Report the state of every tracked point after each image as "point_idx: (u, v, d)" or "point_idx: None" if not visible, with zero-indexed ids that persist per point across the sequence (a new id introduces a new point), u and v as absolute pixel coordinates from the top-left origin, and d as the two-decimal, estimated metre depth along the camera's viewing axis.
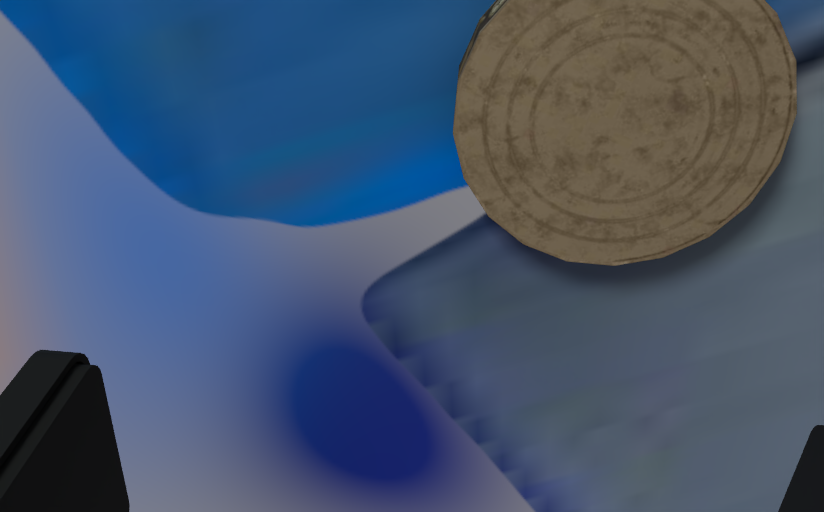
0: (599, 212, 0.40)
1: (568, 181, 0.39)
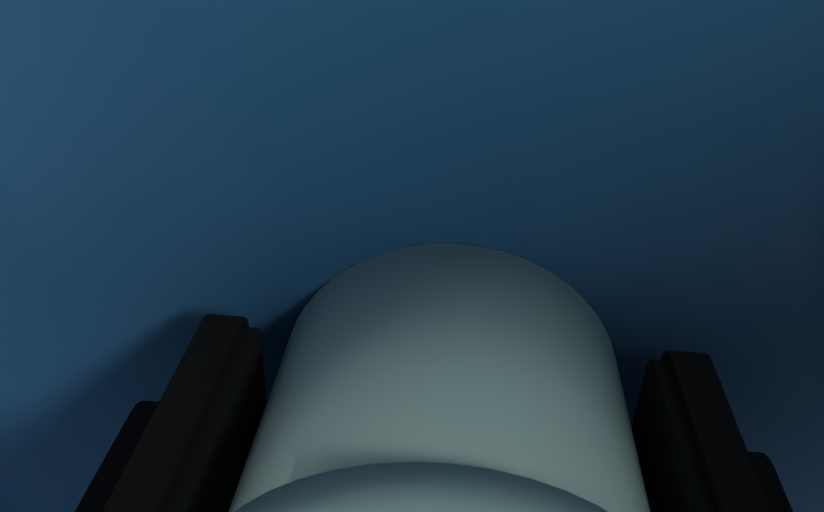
0: None
1: None
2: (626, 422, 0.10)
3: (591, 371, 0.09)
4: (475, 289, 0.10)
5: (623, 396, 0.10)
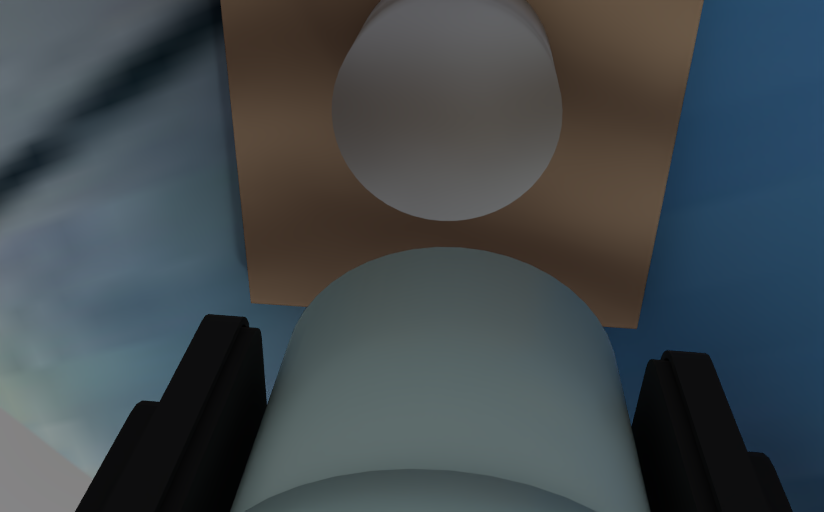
0: None
1: None
2: (627, 427, 0.09)
3: (592, 377, 0.09)
4: (476, 293, 0.10)
5: (624, 401, 0.10)
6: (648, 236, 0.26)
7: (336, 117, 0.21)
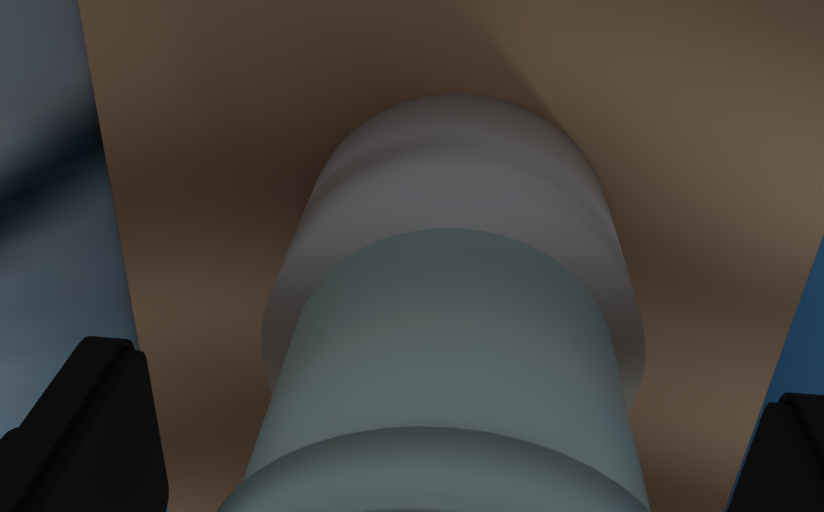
0: None
1: None
2: (621, 397, 0.10)
3: (587, 349, 0.10)
4: (477, 270, 0.10)
5: (618, 374, 0.11)
6: (733, 455, 0.18)
7: (268, 354, 0.13)
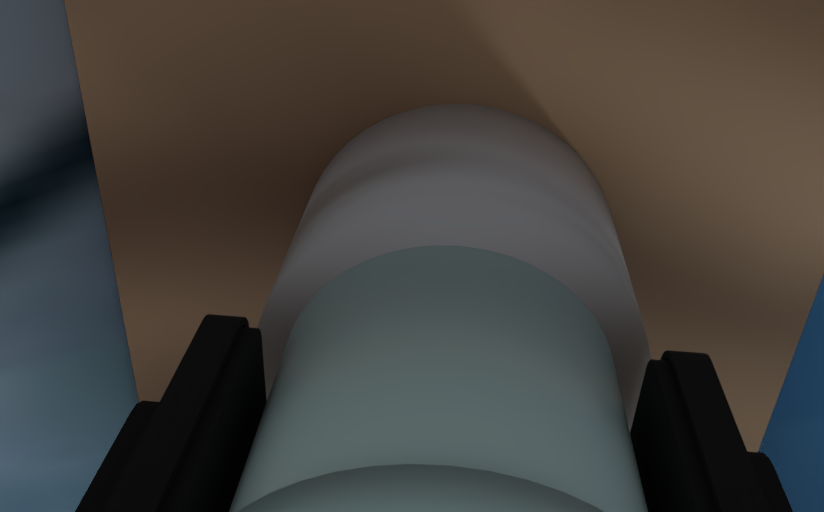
0: None
1: None
2: (624, 423, 0.10)
3: (588, 374, 0.09)
4: (474, 291, 0.10)
5: (621, 397, 0.10)
6: None
7: None
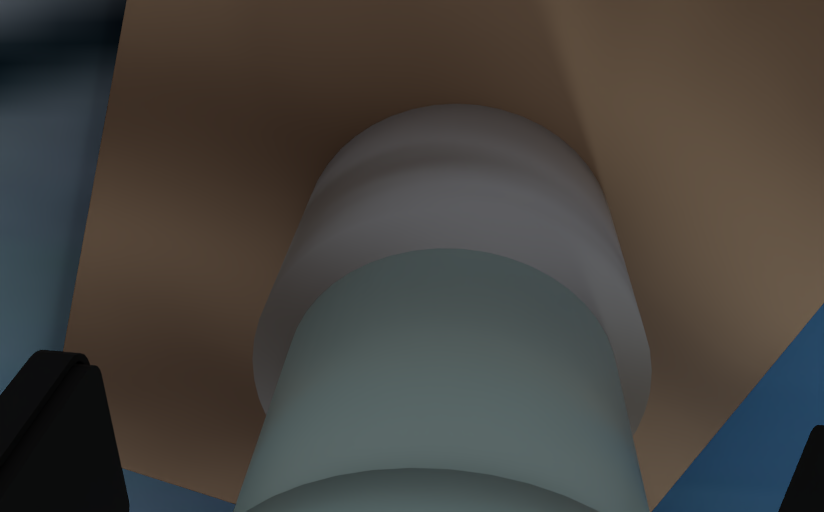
0: None
1: None
2: (560, 362, 0.09)
3: (498, 330, 0.09)
4: (374, 301, 0.10)
5: (569, 335, 0.10)
6: None
7: (265, 327, 0.12)
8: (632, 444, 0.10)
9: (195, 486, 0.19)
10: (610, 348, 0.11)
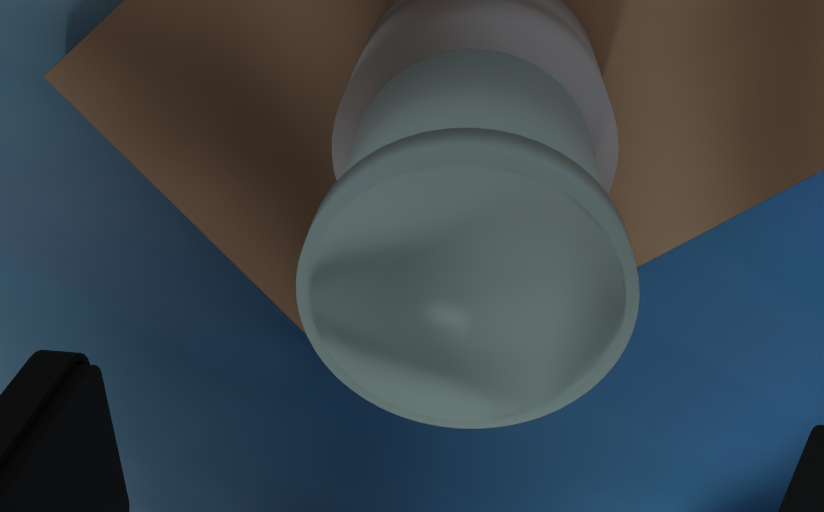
0: None
1: None
2: (509, 89, 0.14)
3: (465, 81, 0.14)
4: (388, 96, 0.15)
5: (520, 78, 0.14)
6: None
7: (382, 55, 0.15)
8: (577, 134, 0.14)
9: (151, 175, 0.22)
10: (568, 94, 0.15)
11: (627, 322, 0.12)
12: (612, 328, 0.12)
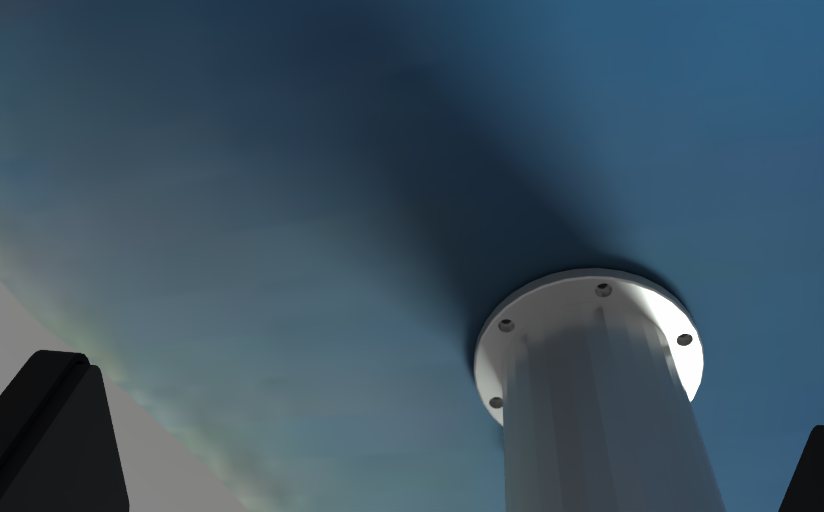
0: None
1: None
2: None
3: None
4: None
5: None
6: None
7: None
8: None
9: None
10: None
11: None
12: None
